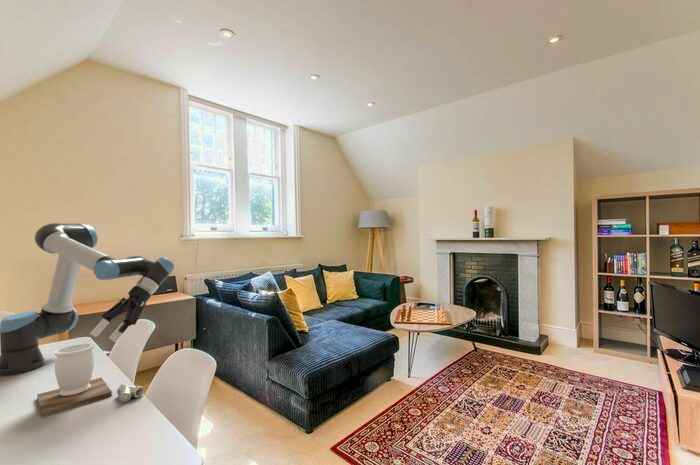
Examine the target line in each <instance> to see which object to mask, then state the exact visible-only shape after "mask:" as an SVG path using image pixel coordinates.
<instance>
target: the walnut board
mask: <svg viewBox="0 0 700 465" xmlns="http://www.w3.org/2000/svg"><path fill="white" fill-rule="evenodd" d="M89 384H90V385H91V387H90V388H89V389H88V390H86V391H84V392H81V393H78V394H75V395H70V396H61V395H60V394H59V393H60V391H61V389H60V387H59V388H56V389H52V390H49V391H44V392H42V393H38V394H37V398H36V399H37V403H38V407H39V412H40V413H39V414H40V417H41V418H44V417H48V416H51V415H53V414H57V413H61V412H64V411H67V410H71V409H73V408H77V407H81V406H84V405H87V404H89V403H93V402H96V401H100V400H103V399H106V398H110V397H112V396H113V391H112V390H111V388H110V387H109V386H108V384H107V382H105V380H104V379H103V377H97V378H94V379H91V380H90V382H89Z"/></svg>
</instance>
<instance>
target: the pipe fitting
mask: <svg viewBox="0 0 700 465" xmlns="http://www.w3.org/2000/svg"><path fill="white" fill-rule="evenodd" d="M138 389H139V390H138ZM116 391H117V392H116V394H117V396H119V397H118V398H119V402H120V403H122V404H124V403H129V401H130V400H131V398H134V399H135V398H136V399H138V398H139V399H140V398H141V397H142V396H143V395H144V392H145V388H144V386H138V385H137V386H136V385H129V384H122V383H121V384H120V385H119V386H118V388H117V389H116Z"/></svg>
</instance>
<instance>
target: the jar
mask: <svg viewBox="0 0 700 465" xmlns="http://www.w3.org/2000/svg"><path fill="white" fill-rule="evenodd" d="M93 349H94V344H93V343H83V344H82V343H80V344H74V345H69V346H64V347H61V348H59V349H57V350H55V351H54V356H55V357H56V359H55V363H54V364H55V365H54V373H55V378H56V382H57V385H58V387H59V388H60V389H61V391H60V393H59V394H60V395H61V396H70V395H75V394H78V393H81V392H84V391H86V390H88V389H89V388H90V387H91V385H90V384H89V382H90V380H92V377H93V374H94V373H93V371H94V366H95V358H94V353H93V352H94V351H93Z"/></svg>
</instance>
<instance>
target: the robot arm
mask: <svg viewBox="0 0 700 465" xmlns="http://www.w3.org/2000/svg"><path fill="white" fill-rule="evenodd" d="M34 242H35V244H36V247H38V248H39V249H41V250H42V251H45V252H46V253H49V254H52V255H53V254H57V255H58V259H57V261H56V266H55V270H54V274H53V277H52V282H51V287H50V290H49V294H48V295H49V296H48V298H47V302H46V303H44V304H43V305H42V306H41V310H40V312H38V311H36V310H29V311H23V312H18V313H14V314H10V315H8V316H6V317H4V318H3V319H2V320H1V321H0V375H5V376H11V375H18V374H22V373H26V372H30V371H33V370H36V369H39V368H40V366H41V367H42V366H44V365H45V358H44V356H43V354H42V352H41V349H40V348H39V340H42V339H45V338H49V337H52V336H55V335H61V334H64V333H66V332H69V331H71V330H72V329H73V328H75V326H76V325H77V323H78V320H79V315H78V311H77V309H75V306H74V305H73V304H72V302H73V298H74V294H75V290H76V286H77V283H78V278H79V273H80V270H81V266H83V267H85V268H87V269H89V270H90V271H93V274H94V276H95V278H96V279H98V280H101V281H105V280H106V281H107V280H109V281H111V280H115V279H120V278H121V279H122V278H128V277H136V276H141V277H140V279H138V281H137V282H136V283H135V286H133V287H131V289H130V290H129V291H128V292H127V293H128V296H129V297H128V298H125V297H122V298H121V299H120V300H119V301H118V302H117V303H115V304H114V305H113V306H112V307H111V308H109V309H108V310H107V311H106V312H104V313H103V314H102V315H101V317H102V319H101V320H100V321H99V322H98V323H97V324H96V326H95V327H94V328H93V329H92V331H90V333H89V334H90V335H92V336H93V337H95V338H98V336H99V335H100V334H101V333H102V332H103V331H104V330H105V329H106V328H107V326H108V325H109V324H110V323H111V322H112V320H114V318H116V317H118V316H120V315H121V314H123V313H126V315H125V317H124V318H125V319H123V321H122V322H120V324H119V325H118V326H117V328H116V329H115V330H114V331H113V332H112V334H111V335H110V336H108V339H109V340H110V341H112V342H114V343H116V342H117V341H118V340H119V339H120V337H121V336H122V335H123V334H124V333H125V332H126V330H128V328H129V327H131V326H132V325H133V326H135V325H136V324H137V321H138V320H139V318H140V316H141V313H142V311H143V309H144V308H145V306H146V305H147V302H148V301H149V300H150V298H151V296H152V295H154V293H156V292H157V290H158V289H159V288H160V286H161V285H162V284H163V283H164V282H165V280H167V279H168V277H169V276H170V275H171V273H172V271H174V269H175V265H174V263H173V261H172V260H170V259H169V258H166V257H164V256H163V257H159V258H158V259H156V260H152V259H150V258H146V257H143V256H140V255H134V254H133V255H130V256H128V257H126V258H119V259H117V258H115V257H111V256H110V255H107V254H106V253H103V252H101V251H99V250H96V249H94V247H96V246H97V244H98V234H97V232H96V230H95V228H94V227H92V226H91V225H89V224H85V223H84V224H83V223H57V222H53V223H48V224H45V225H42V226H41V227H39V229H37V231H36V232H35V235H34ZM43 364H44V365H43ZM35 368H36V369H35Z"/></svg>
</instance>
